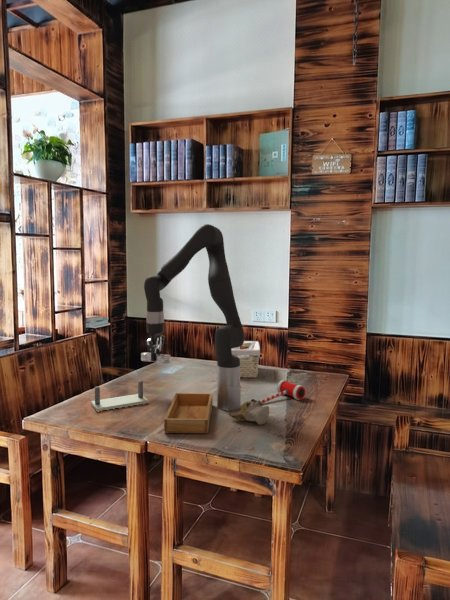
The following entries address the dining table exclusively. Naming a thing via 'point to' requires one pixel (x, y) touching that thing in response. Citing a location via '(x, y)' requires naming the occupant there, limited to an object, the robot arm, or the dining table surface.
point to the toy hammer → (287, 391)
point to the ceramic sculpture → (252, 412)
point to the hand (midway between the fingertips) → (155, 360)
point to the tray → (189, 413)
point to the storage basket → (248, 358)
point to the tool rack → (119, 399)
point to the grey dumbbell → (159, 357)
